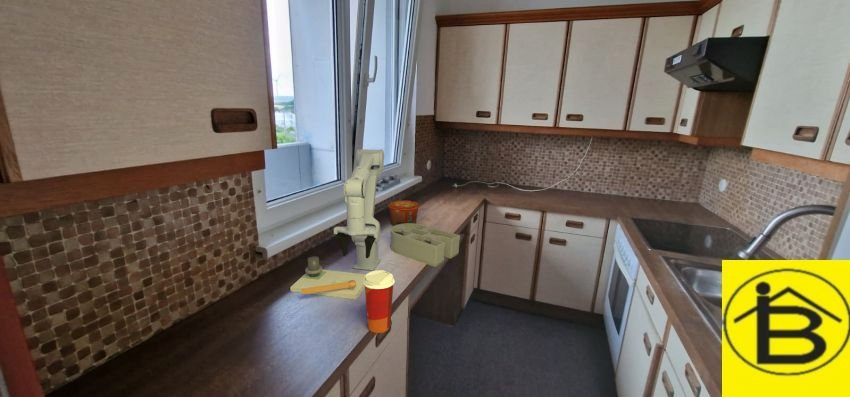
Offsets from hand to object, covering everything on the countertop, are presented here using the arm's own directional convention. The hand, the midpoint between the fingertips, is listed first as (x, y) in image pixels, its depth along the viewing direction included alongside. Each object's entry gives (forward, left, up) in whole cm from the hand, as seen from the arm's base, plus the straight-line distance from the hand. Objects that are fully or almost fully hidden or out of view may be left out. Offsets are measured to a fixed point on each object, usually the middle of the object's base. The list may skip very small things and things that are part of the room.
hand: (356, 256), depth 115 cm
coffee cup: (+21, +14, -11) cm, 27 cm away
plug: (0, -16, -9) cm, 18 cm away
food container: (-67, 0, -11) cm, 68 cm away
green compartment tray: (-33, +15, -11) cm, 38 cm away
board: (+2, -8, -10) cm, 13 cm away
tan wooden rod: (+9, -5, -8) cm, 13 cm away
